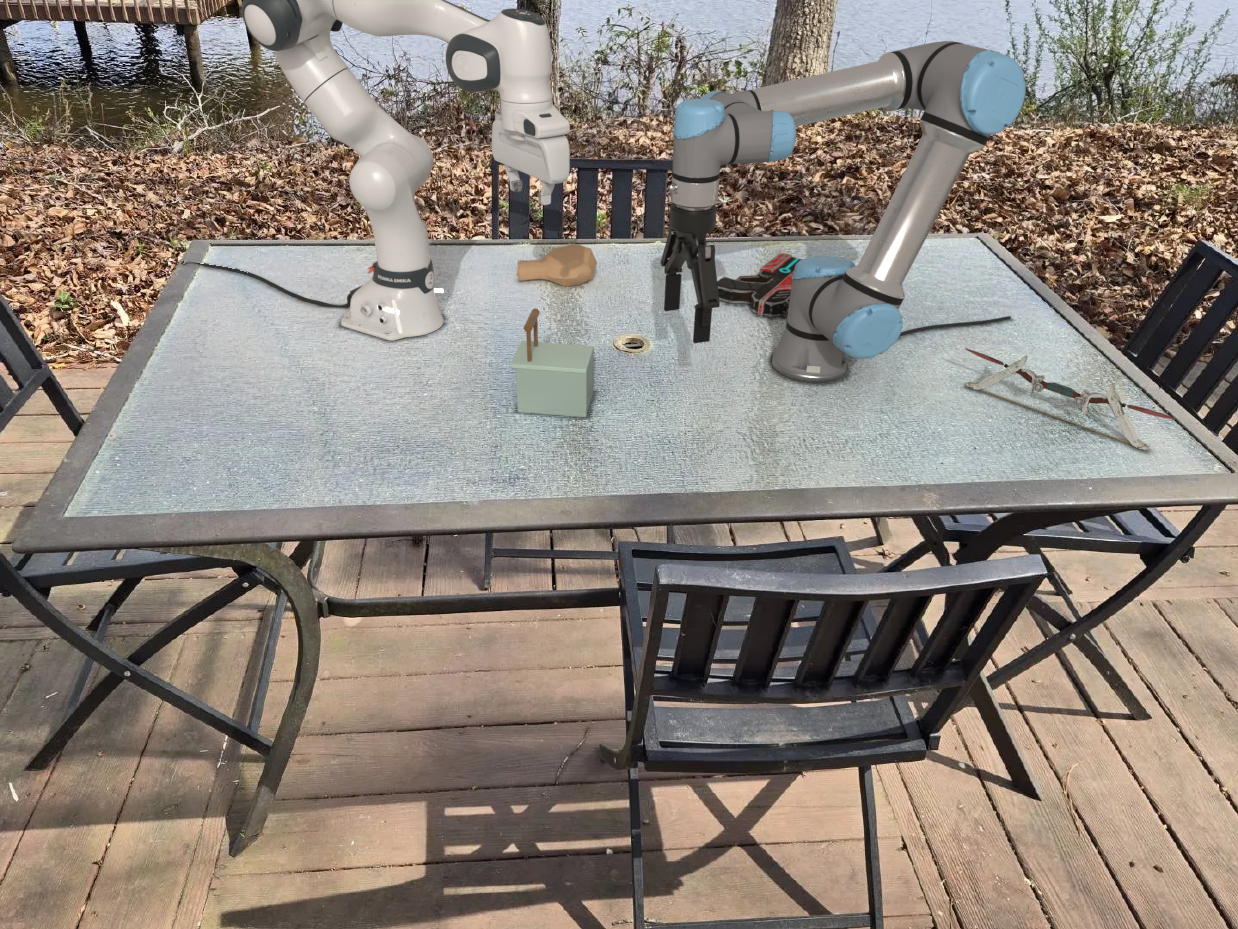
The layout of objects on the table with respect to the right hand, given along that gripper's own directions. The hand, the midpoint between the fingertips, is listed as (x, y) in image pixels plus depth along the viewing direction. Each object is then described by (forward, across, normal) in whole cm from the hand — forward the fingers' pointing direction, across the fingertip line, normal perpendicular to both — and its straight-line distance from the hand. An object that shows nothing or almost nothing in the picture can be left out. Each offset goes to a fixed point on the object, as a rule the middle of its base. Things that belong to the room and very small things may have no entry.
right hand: (685, 325), depth 153 cm
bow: (+20, +19, +69) cm, 75 cm away
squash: (+19, -71, -4) cm, 74 cm away
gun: (+20, -51, +45) cm, 71 cm away
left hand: (-17, -25, -21) cm, 37 cm away
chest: (+19, -13, -20) cm, 31 cm away
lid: (+10, -13, -21) cm, 26 cm away
